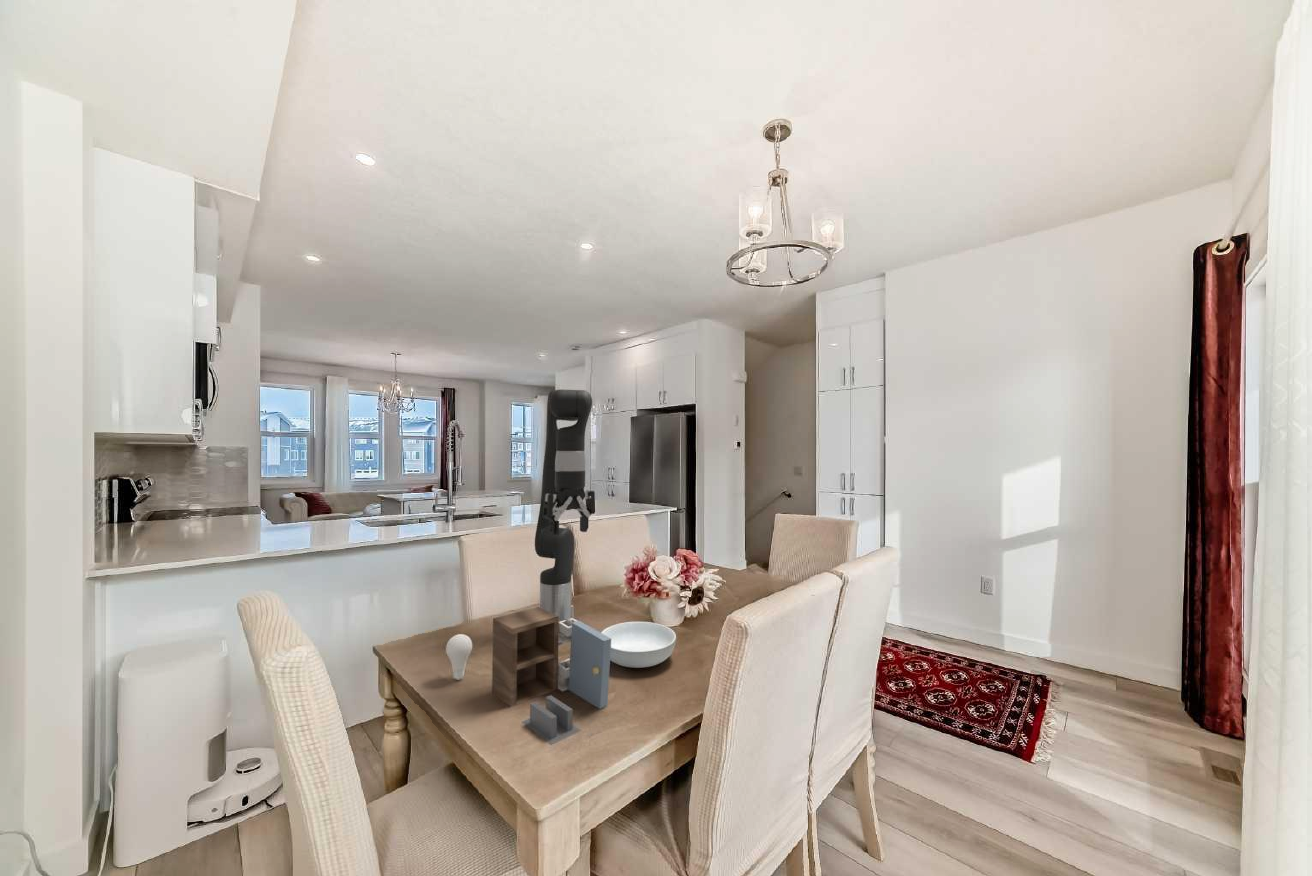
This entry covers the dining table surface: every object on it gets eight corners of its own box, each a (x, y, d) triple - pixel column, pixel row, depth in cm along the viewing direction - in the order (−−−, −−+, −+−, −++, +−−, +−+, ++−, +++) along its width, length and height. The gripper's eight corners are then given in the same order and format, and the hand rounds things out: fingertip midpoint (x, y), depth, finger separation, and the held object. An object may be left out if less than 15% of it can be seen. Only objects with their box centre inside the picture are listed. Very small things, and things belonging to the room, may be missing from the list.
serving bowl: (583, 667, 134) (584, 640, 134) (624, 640, 153) (625, 617, 153) (653, 685, 124) (653, 656, 124) (688, 653, 143) (688, 629, 143)
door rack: (550, 714, 110) (550, 691, 110) (580, 735, 103) (581, 710, 103) (521, 726, 105) (521, 702, 106) (551, 749, 98) (551, 723, 98)
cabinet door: (569, 678, 125) (572, 613, 124) (610, 707, 113) (615, 637, 112) (554, 683, 122) (558, 618, 121) (595, 714, 110) (600, 642, 109)
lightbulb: (450, 674, 129) (450, 630, 129) (474, 673, 129) (475, 630, 130) (441, 685, 123) (442, 640, 123) (467, 685, 123) (468, 639, 123)
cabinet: (553, 673, 130) (554, 602, 130) (579, 688, 122) (580, 613, 122) (492, 696, 118) (493, 618, 118) (515, 714, 110) (516, 631, 110)
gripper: (584, 467, 136) (583, 528, 135) (537, 469, 126) (536, 535, 125) (601, 468, 130) (601, 532, 130) (554, 470, 120) (553, 539, 120)
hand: (569, 533), depth 128 cm, fingers open, 8 cm apart
